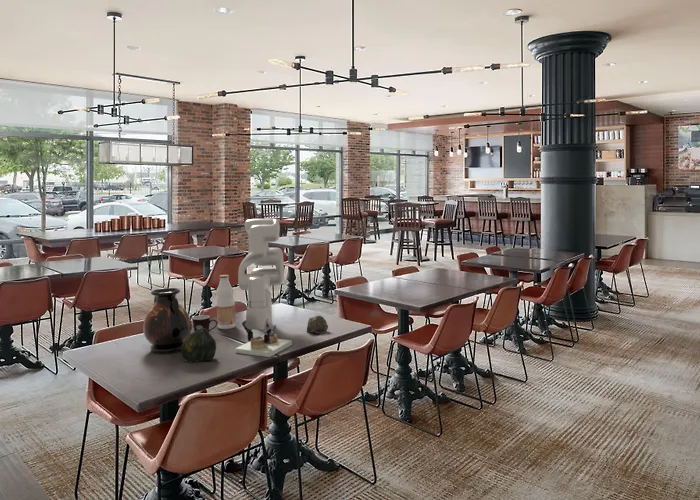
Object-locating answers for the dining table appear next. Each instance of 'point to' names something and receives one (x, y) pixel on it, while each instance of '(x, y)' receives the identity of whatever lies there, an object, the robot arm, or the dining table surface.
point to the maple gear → (258, 343)
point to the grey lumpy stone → (317, 325)
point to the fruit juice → (225, 304)
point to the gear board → (271, 348)
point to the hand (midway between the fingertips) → (258, 341)
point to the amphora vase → (166, 322)
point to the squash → (198, 346)
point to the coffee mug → (202, 322)
